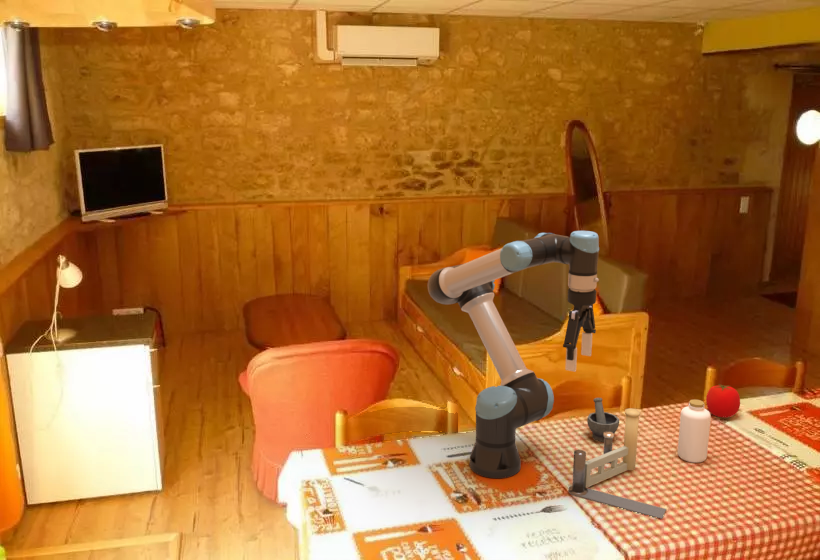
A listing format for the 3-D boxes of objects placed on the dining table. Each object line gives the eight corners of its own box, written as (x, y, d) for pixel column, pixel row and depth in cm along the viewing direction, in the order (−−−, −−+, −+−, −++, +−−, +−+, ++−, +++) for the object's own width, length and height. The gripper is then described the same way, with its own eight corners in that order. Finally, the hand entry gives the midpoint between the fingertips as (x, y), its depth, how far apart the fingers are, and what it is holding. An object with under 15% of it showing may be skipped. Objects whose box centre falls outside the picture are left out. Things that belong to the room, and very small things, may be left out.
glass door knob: (597, 461, 214) (599, 435, 212) (602, 455, 218) (603, 429, 216) (612, 464, 212) (614, 438, 210) (616, 458, 216) (618, 432, 214)
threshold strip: (571, 495, 196) (571, 493, 196) (577, 486, 201) (577, 485, 200) (661, 519, 184) (661, 518, 184) (666, 510, 189) (666, 509, 188)
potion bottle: (676, 461, 214) (681, 405, 210) (677, 449, 221) (682, 395, 217) (706, 466, 211) (712, 409, 206) (706, 453, 218) (711, 398, 214)
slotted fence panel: (589, 490, 197) (592, 431, 193) (578, 483, 201) (581, 425, 196) (639, 468, 208) (643, 412, 204) (627, 462, 212) (631, 407, 207)
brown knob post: (565, 493, 197) (567, 454, 194) (571, 485, 201) (573, 446, 198) (584, 498, 194) (586, 458, 192) (590, 490, 199) (592, 450, 196)
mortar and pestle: (622, 443, 225) (625, 408, 222) (594, 446, 224) (596, 410, 221) (608, 428, 236) (610, 394, 233) (580, 430, 235) (582, 396, 232)
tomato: (744, 422, 239) (747, 392, 236) (712, 422, 239) (715, 392, 237) (730, 408, 249) (733, 380, 247) (700, 409, 249) (702, 380, 247)
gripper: (581, 301, 181) (577, 379, 186) (608, 280, 201) (604, 351, 207) (552, 297, 184) (550, 374, 190) (582, 277, 205) (579, 347, 210)
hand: (578, 362), depth 198 cm, fingers open, 13 cm apart
